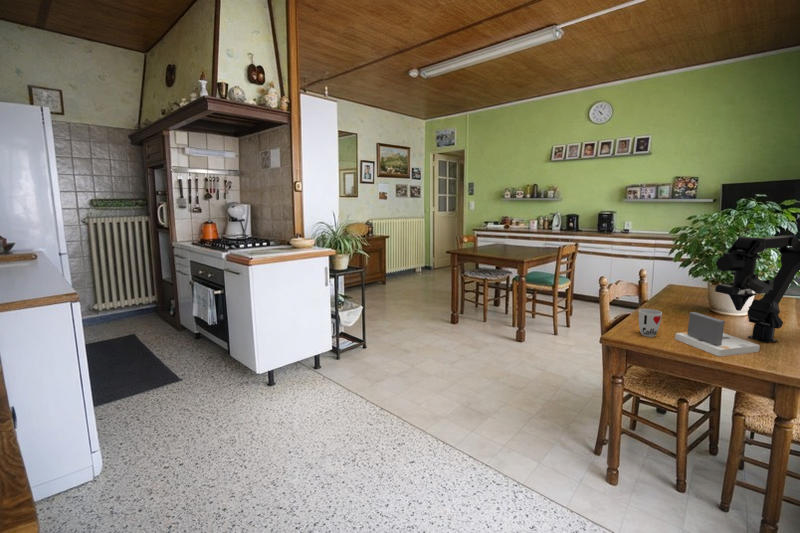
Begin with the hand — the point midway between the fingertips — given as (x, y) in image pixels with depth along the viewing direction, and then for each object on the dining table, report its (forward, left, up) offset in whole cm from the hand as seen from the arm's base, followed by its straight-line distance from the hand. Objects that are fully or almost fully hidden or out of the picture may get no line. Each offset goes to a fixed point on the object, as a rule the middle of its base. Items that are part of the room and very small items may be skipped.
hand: (738, 310), depth 153 cm
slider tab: (+15, 0, -10) cm, 18 cm away
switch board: (+9, 0, -13) cm, 16 cm away
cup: (+24, -16, -13) cm, 32 cm away
